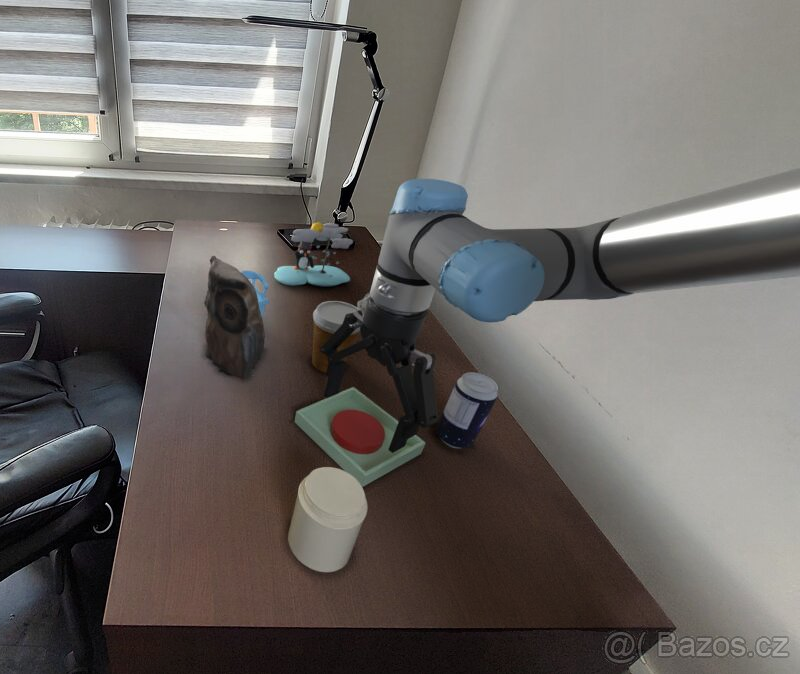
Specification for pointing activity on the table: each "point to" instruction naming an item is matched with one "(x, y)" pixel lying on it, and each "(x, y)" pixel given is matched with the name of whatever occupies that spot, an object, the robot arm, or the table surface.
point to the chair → (261, 297)
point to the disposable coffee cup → (330, 329)
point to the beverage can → (467, 410)
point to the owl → (232, 321)
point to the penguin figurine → (314, 273)
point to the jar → (327, 519)
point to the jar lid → (357, 432)
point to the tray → (360, 466)
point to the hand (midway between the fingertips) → (361, 419)
